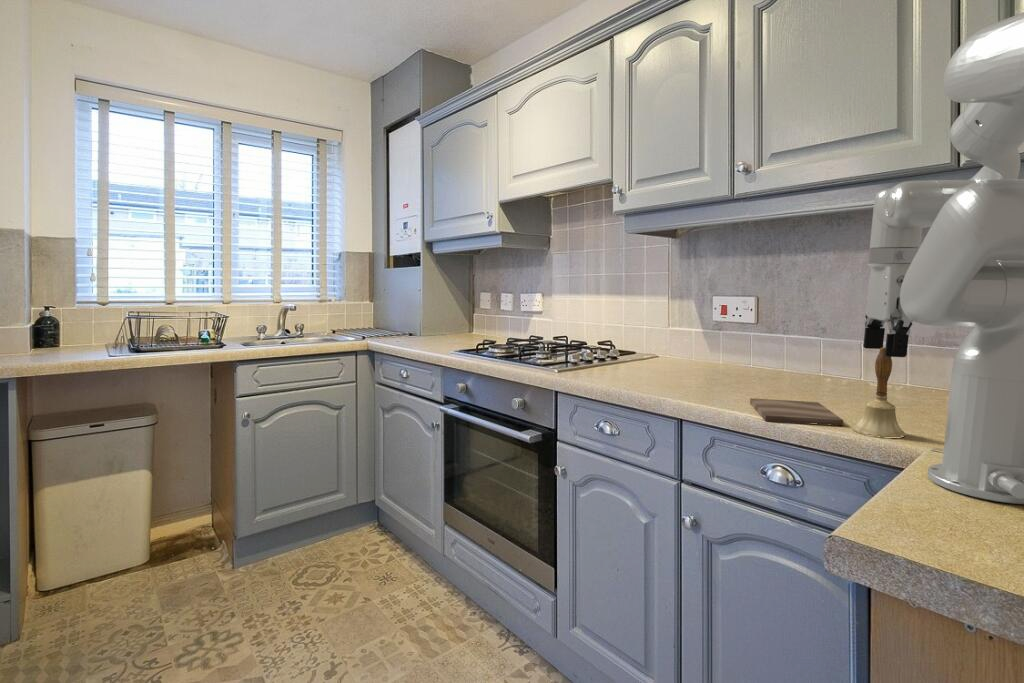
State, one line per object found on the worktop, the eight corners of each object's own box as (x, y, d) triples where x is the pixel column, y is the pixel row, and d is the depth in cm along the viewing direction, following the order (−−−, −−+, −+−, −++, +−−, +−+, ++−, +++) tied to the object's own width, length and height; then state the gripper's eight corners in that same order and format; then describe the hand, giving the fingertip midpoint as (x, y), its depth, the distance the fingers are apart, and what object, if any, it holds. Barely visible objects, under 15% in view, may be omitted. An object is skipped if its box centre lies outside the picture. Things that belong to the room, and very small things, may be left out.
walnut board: (842, 426, 106) (843, 420, 106) (765, 421, 110) (765, 415, 109) (817, 407, 122) (817, 402, 122) (750, 403, 125) (750, 398, 125)
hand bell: (897, 441, 96) (905, 352, 95) (845, 431, 103) (852, 347, 101) (911, 433, 102) (919, 348, 100) (861, 424, 108) (868, 344, 106)
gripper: (942, 258, 90) (930, 361, 92) (895, 259, 106) (886, 346, 109) (890, 258, 91) (880, 359, 94) (852, 259, 108) (844, 344, 110)
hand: (883, 352), depth 101 cm, fingers open, 9 cm apart
